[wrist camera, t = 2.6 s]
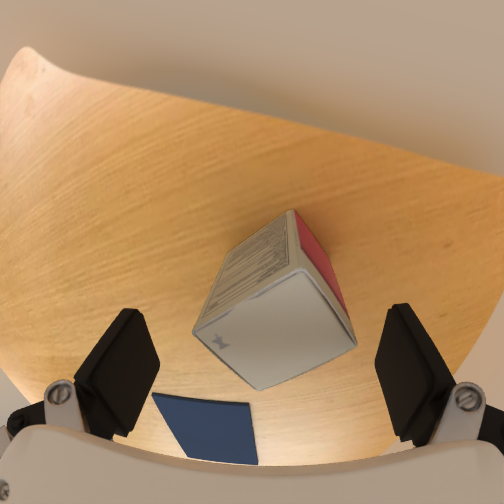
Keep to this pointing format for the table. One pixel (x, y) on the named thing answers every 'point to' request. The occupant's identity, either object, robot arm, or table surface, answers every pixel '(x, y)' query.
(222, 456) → the cloth
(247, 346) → the small box
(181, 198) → the table surface
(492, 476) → the robot arm
